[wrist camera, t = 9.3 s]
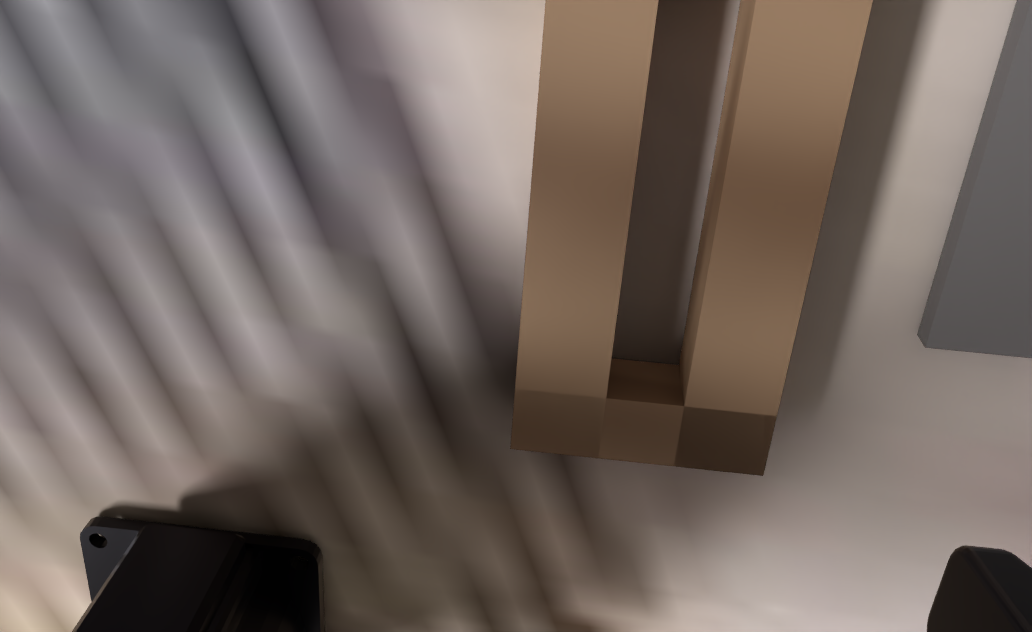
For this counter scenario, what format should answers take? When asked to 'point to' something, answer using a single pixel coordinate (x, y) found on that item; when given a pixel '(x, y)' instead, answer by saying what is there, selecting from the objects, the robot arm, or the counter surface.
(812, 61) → the stand
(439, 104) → the counter surface
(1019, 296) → the mat
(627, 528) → the counter surface
